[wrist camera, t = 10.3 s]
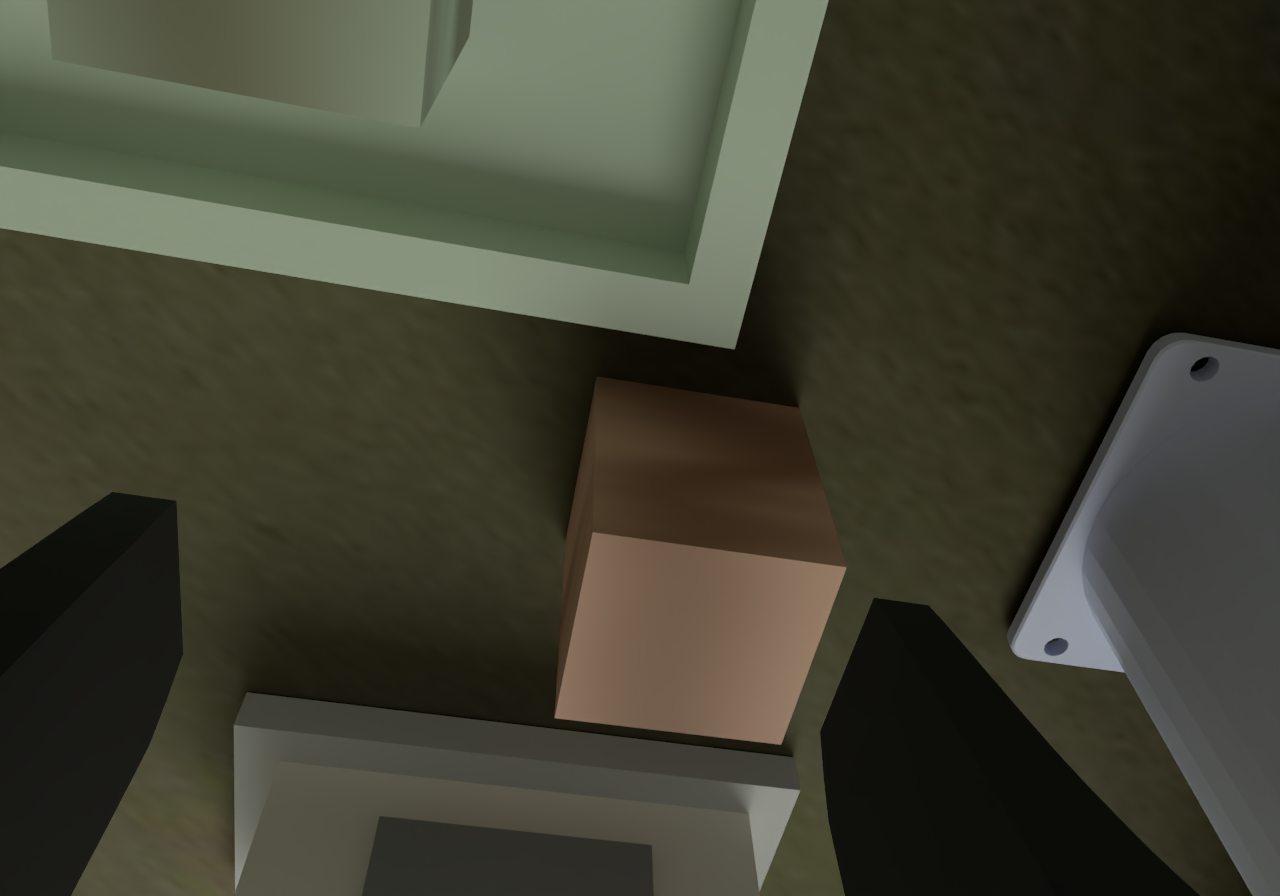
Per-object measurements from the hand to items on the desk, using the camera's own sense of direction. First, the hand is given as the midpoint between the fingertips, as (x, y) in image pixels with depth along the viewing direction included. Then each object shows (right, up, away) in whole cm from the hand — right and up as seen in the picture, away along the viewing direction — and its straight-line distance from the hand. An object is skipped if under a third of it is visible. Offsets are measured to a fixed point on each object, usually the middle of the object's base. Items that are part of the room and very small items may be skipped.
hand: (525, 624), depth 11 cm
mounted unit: (-2, -8, +16) cm, 18 cm away
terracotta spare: (+2, +1, +10) cm, 11 cm away
